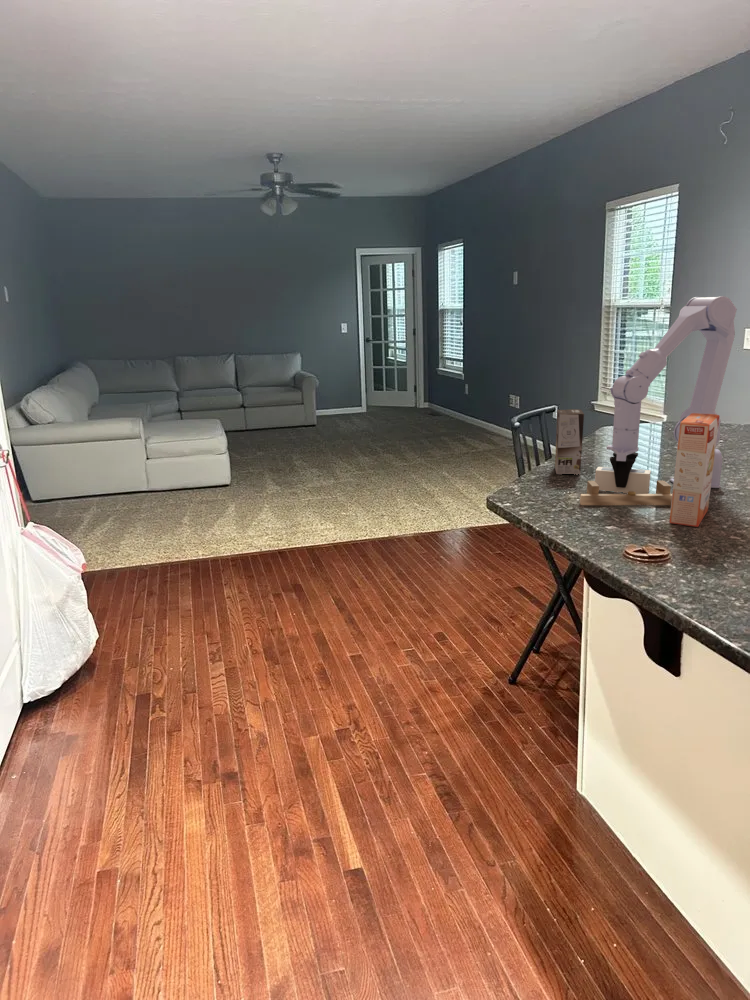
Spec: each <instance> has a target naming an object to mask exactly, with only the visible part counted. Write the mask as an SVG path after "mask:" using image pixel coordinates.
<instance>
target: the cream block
mask: <svg viewBox="0 0 750 1000" xmlns="http://www.w3.org/2000/svg"><path fill="white" fill-rule="evenodd" d="M651 472H652V470H651V469H648V470H647V469H637V468H636V469H635V468H632V469H631V470H630V473H629V478H628V482H627V485H626V487H625V488H621V487H616V483H615V475H614V470H613V467H608V466H597V468H596V469H595V475H594V476H595V477H594V481H595V482H596V483H597V484H598V485H599V490H605V491H604V492H606V491H614V492H613V493H618V492H623V493H622V494H628V492H629V491H634V492H636V494H650V484H651Z"/></svg>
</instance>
